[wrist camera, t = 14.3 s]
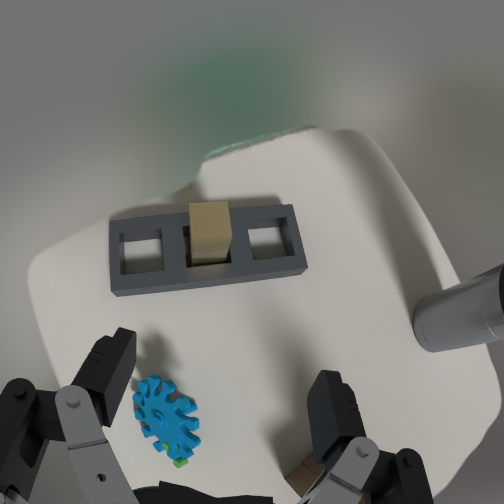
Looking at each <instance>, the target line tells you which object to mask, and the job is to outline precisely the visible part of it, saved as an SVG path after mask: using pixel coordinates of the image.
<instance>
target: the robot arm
mask: <svg viewBox="0 0 504 504" xmlns="http://www.w3.org/2000/svg"><path fill="white" fill-rule="evenodd" d="M414 332H415V335H416V338H417V340H418V342H419V343H420V345H421V346H422V347H423V348H424V349H425V350H427V351H429V352H440V351H446V350H453V349H458V348H464V347H469V346H474V345H478V344H483V343H488V342H492V341H496V340H500V339H504V263H503V264H501V265H499V266H497V267H494V268H492V269H490V270H488V271H486V272H484V273H482V274H480V275H478V276H475V277H473V278H471V279H469V280H467V281H464V282H462V283H460V284H457V285H455V286H453V287H450V288H448V289H445V290H443V291H440V292H438V293H435V294H433V295H430V296H428V297H426V298H424V299H422V300H421V301H420V303H419V304H418V306H417V307H416V310H415V313H414ZM135 363H136V332H135V331H131V330H128V329H125V328H121V327H119V328H118V329H117V331H116V332H115V334H114V336H113V337H110V336H106V335H105V336H103V337H102V338H101V339H99V340H98V341H96V343H95V344H94V346H93V348H92V349H91V352H90V353H89V354H88V356H87V359H85V361H84V363H83V364H82V366H81V368H80V370H79V371H78V373H77V375H76V377H75V378H74V380H73V382H72V383H71V385H68V386H65V387H63V388H61V389H60V390H59V391H56V392H52V391H43V390H36V389H35V387H34V385H33V384H32V383H31V382H30V381H29V380H27V379H23V378H16V379H13V380H11V381H10V382H8V383H7V385H6V386H5V388H4V390H3V391H2V393H1V395H0V504H29V503H28V500H29V497H30V494H31V491H32V488H33V485H34V482H35V479H36V476H37V473H38V470H39V467H40V465H41V462H42V459H43V456H44V453H45V451H46V448H47V446H48V444H49V441H50V440H55V441H63V442H67V445H68V452H69V455H70V458H71V461H72V463H73V466H74V469H75V472H76V473H77V477H78V479H79V482H80V484H81V487H82V489H83V491H84V494H85V496H86V498H87V501H88V503H89V504H274V503H273V497H264V496H251V495H242V496H233V497H222V498H216V497H212V496H210V495H207V494H204V493H202V492H199V491H197V490H194V489H192V488H190V487H186V486H181V485H177V484H172V483H168V482H163V481H160V482H159V486H150V487H142V488H138V489H135V490H132V489H131V487H130V485H129V484H128V482H127V480H126V478H125V476H124V474H123V472H122V470H121V468H120V466H119V463H118V461H117V459H116V457H115V455H114V453H113V450H112V448H111V446H110V444H109V442H108V440H107V439H106V437H105V435H104V433H103V430H102V426H103V425H104V426H107V427H109V428H110V427H111V425H112V422H113V419H114V417H115V414H116V412H117V409H118V407H119V404H120V402H121V399H122V397H123V394H124V392H125V389H126V387H127V384H128V382H129V380H130V377H131V375H132V373H133V370H134V367H135ZM356 402H357V401H356V398H355V394H354V392H353V390H352V389H351V388H350V387H349V385H348V384H346V383H342V379H341V375H340V373H339V372H338V371H330V370H321V371H320V373H319V375H318V376H317V378H316V380H315V382H314V384H313V386H312V387H311V389H310V391H309V393H308V397H307V407H308V414H309V421H310V428H311V436H312V443H313V450H314V458H315V464H324V466H325V469H324V470H323V472H322V473H321V474H320V476H319V477H318V478H317V480H316V481H315V482H314V484H313V485H312V486H311V487H310V489H309V490H308V491H307V493H306V494H305V495H304V496H303V498H302V499H301V500H300V501H299V502H298V503H297V504H358V503H359V501H360V499H361V497H362V494H363V493H362V492H364V500H365V504H434V502H433V498H432V494H431V490H430V486H429V483H428V479H427V475H426V472H425V468H424V465H423V461H422V458H421V456H420V455H419V454H418V453H417V452H416V451H415V450H413V449H409V448H404V449H401V450H400V451H399V452H398V453H397V454H394V453H390V452H386V451H382V450H379V449H378V446H377V445H376V443H375V442H374V441H372V440H371V439H369V438H367V436H366V433H365V429H364V426H363V422H362V419H361V415H360V412H359V411H358V409H359V408H358V405H357V403H356Z"/></svg>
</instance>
